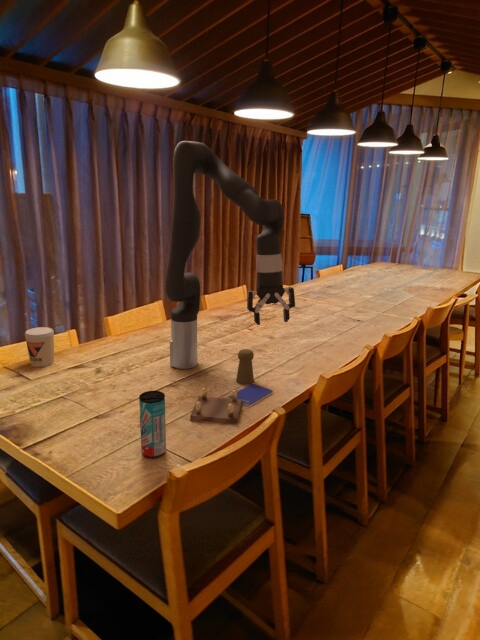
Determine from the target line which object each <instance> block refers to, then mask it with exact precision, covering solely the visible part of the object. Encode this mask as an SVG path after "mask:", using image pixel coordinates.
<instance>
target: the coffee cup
mask: <svg viewBox="0 0 480 640" xmlns="http://www.w3.org/2000/svg"><path fill="white" fill-rule="evenodd" d="M54 331H55V330H54V329H53V328H52V327H47V326H46V327H44V326H41V327H38V326H37V327H33V328H29V329H27V330H25V332H24V337H25V342H26V347H27V351H28V352H27V353H28V358H29V363H30V365H31V366H32V367H34V368H35V367H36V368H41V367H43V368H44V367H48V366H51V365H53V364H54V363H55V339H54V337H55V334H54V333H55V332H54Z"/></svg>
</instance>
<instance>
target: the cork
mask: <svg viewBox="0 0 480 640" xmlns="http://www.w3.org/2000/svg"><path fill="white" fill-rule="evenodd" d="M254 355H255V354H254V351H253V350H251V349H247V348H243V349H240V350H239V351H238V352H237V359H238V367H237V373H236V379H235V382H236V384H238V385H242V386H249V385H250V384H255V383H254V382H255V378H254V377H255V376H254V370H253V368H254V367H253V359H254Z"/></svg>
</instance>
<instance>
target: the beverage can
mask: <svg viewBox="0 0 480 640" xmlns="http://www.w3.org/2000/svg"><path fill="white" fill-rule="evenodd" d="M138 398H139V399H138V401H139V425H140V426H139V429H140V450H141V454H142V456H144V457H145V458H147V459H158V458H160V457H162V456H163V455H165V454H166V451H167V438H166V437H167V433H166V432H167V430H166V427H167V425H166V394H165V393H164V392H162V391H160V390H148V391H144V392H142V393H140V394H139V396H138Z"/></svg>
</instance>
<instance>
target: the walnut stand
mask: <svg viewBox="0 0 480 640" xmlns="http://www.w3.org/2000/svg"><path fill="white" fill-rule="evenodd" d="M237 391H238V389H236V388H234V389H231V395H232V399H229V398H228V397H227V398H226V397H214V396H208V388H207V387H205V386H203V387H201V396H199V395H198V397H197V399H196V401H195V403H194V406H193V408H192V411H191V414H190V415H189V416H190V421H192V422H193V421H194V422H204V423H205V422H207V423H219V424H234V425H238V422H239V421H238V420H239V417H240V414H241V413H240V412H241V408H242V405H243V404H242V399H237Z"/></svg>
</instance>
